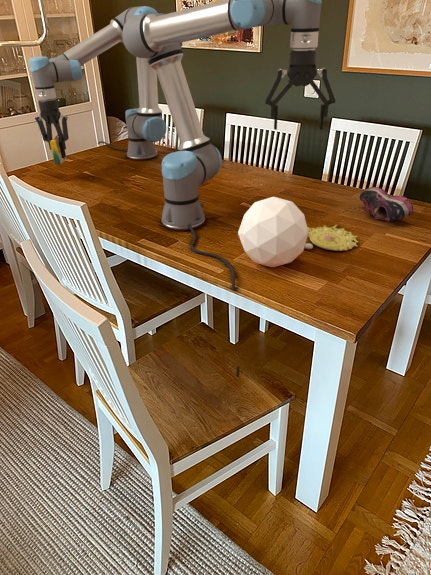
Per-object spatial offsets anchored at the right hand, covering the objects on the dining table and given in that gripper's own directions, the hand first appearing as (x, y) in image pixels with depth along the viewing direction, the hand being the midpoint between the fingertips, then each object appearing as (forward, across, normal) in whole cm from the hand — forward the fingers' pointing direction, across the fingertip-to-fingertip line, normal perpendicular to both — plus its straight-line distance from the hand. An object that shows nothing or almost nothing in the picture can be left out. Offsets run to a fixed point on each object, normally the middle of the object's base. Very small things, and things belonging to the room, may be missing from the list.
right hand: (297, 128), depth 134 cm
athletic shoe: (+32, +31, +8) cm, 45 cm away
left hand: (+22, -98, +46) cm, 110 cm away
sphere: (+32, -7, -26) cm, 42 cm away
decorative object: (+32, +11, -11) cm, 36 cm away
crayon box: (+24, -98, +46) cm, 111 cm away
